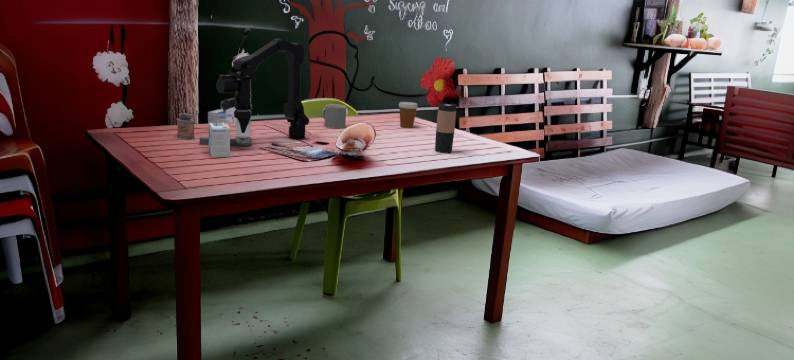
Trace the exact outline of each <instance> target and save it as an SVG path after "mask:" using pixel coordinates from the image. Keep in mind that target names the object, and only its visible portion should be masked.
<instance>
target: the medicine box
mask: <svg viewBox="0 0 794 360" xmlns="http://www.w3.org/2000/svg"><path fill="white" fill-rule="evenodd" d="M207 121H208V122H207V124H208V130H207V131H209V123H227V110H225V111H223V109H215V110H211V111H207Z"/></svg>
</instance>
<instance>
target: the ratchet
mask: <svg viewBox="0 0 794 360" xmlns="http://www.w3.org/2000/svg"><path fill="white" fill-rule="evenodd" d="M252 140H253V139H252V137H251V136H235V137H230V147H231V146H236V147H240V148H248V147H252V144H253V143H252ZM198 141H199V146H209V136H208V137H206V136H205V137H201V136H200V137H199V140H198Z"/></svg>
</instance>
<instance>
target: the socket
mask: <svg viewBox="0 0 794 360" xmlns="http://www.w3.org/2000/svg"><path fill="white" fill-rule="evenodd" d="M251 124H252V120H250V121H249V123H248V126H247V128H246V131H245V133H242V132H241V128H240V123H239V120H238V119H237V120H236V121H235V137H237V136H249V137H251V134H252V125H251Z"/></svg>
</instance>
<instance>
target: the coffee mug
mask: <svg viewBox="0 0 794 360" xmlns="http://www.w3.org/2000/svg"><path fill="white" fill-rule="evenodd" d="M321 116H322V118H323V120H324V127H325V128H327V129H334V130H341V129H345V128H346V121H347V120H346V118H347V105H344V104H337V103H335V104H334V103H333V104H332V103H331V104H325V106H324V108H323V109H322V111H321Z"/></svg>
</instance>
